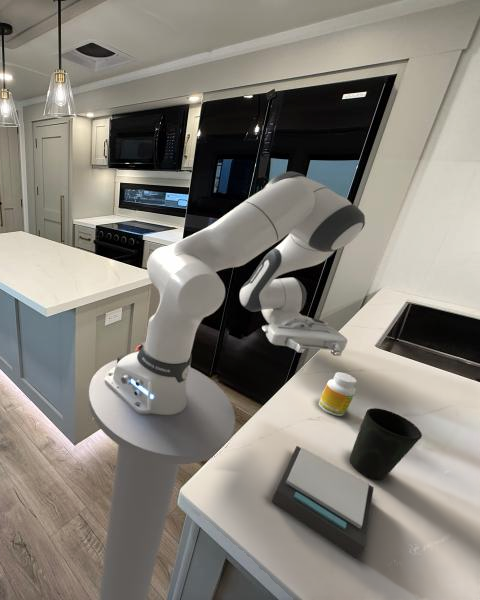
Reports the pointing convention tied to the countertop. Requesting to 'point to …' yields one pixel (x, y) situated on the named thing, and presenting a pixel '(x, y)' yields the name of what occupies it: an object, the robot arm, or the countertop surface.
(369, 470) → the cup
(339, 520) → the kitchen scale
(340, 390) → the supplement bottle
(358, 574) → the countertop surface
